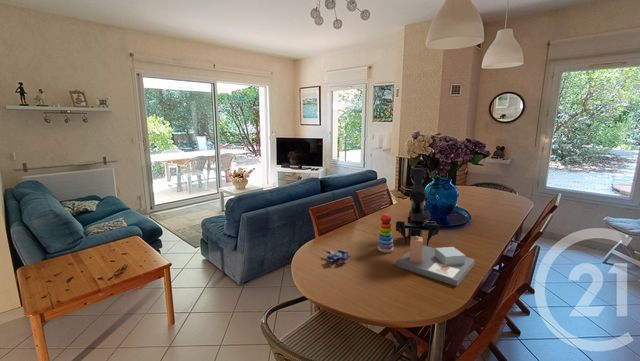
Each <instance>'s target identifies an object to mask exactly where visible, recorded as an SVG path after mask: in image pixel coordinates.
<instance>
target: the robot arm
mask: <svg viewBox="0 0 640 361" xmlns="http://www.w3.org/2000/svg"><path fill="white" fill-rule="evenodd" d="M409 170H410V172H409V174H410V175H409V177H410V178H411V179H410V180H411V182H412V184H413V187H412V188H411V190H410V191H411V192H410V193H409V201H410V202H411V203H410V204H411V206H410V212H409V215H408V216H407V223H406V221H403V220H402V221H401V220H396V221H395V231H396V232H397V233H398V234H399V233H400V235H401V237H402V239H403V243H404V244H405V245H406V244H407V238H408V239H411V236H419V237H422V238H423V231H428V233H427V239H426V246H428V247H429V244H430V241H431V239H432V237H435V236H438V235H439V230H440V225H439V224H437V223H436V224H435V223H429V224H428V225H426V221H428V220H429V213H428V212H424V211H425V210H424V207H425V202H427V201H428V195H427V193H426V192H425V188H424V187H423V183H424V181H425V178H426V177H427V170H426V169H424V168H419V167H418V168H417V167H413V168H411V169H409ZM405 223H406V224H405ZM406 230H408V231H407V232H408V233H407V235H406Z"/></svg>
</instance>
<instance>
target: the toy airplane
mask: <svg viewBox="0 0 640 361" xmlns="http://www.w3.org/2000/svg"><path fill="white" fill-rule="evenodd" d="M320 250H321V251H323V252H325V253H327V254H328V256H327V255H326V259H327V261H328V262H337V261H338V262H337V264H338V265H340V264H341V262H342V263H343V262H345V261H348V259H349V258H350V257H351V255H349V254H348V253H349V251H347V250H337V252H334V251H332V250H323V249H320Z"/></svg>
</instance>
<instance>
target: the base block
mask: <svg viewBox="0 0 640 361" xmlns="http://www.w3.org/2000/svg"><path fill="white" fill-rule="evenodd" d="M434 248H435V257H436V258H437V259H438V260H440V261H441V262H442V263H443V264H444V265H457V264H465V257H466V254H465V253H463V252H462V251H460V250H459V249H458V248H455V247H454V246H443V247H434Z"/></svg>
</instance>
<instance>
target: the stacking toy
mask: <svg viewBox="0 0 640 361" xmlns="http://www.w3.org/2000/svg"><path fill="white" fill-rule="evenodd" d="M380 221H381V223H380V228H379V230H380V231H379V235H378V237H379V238H378V242H377V248H376V249H377V250H378V251H379V252H382V253H387V254H388V253H392V252H393V251H394V249H395V248H394V243H393V242H394V240H393V232H392V227H391V226H392V224H391V221H392V216H391V215H390V214H389V213H383V214H381V216H380Z"/></svg>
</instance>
